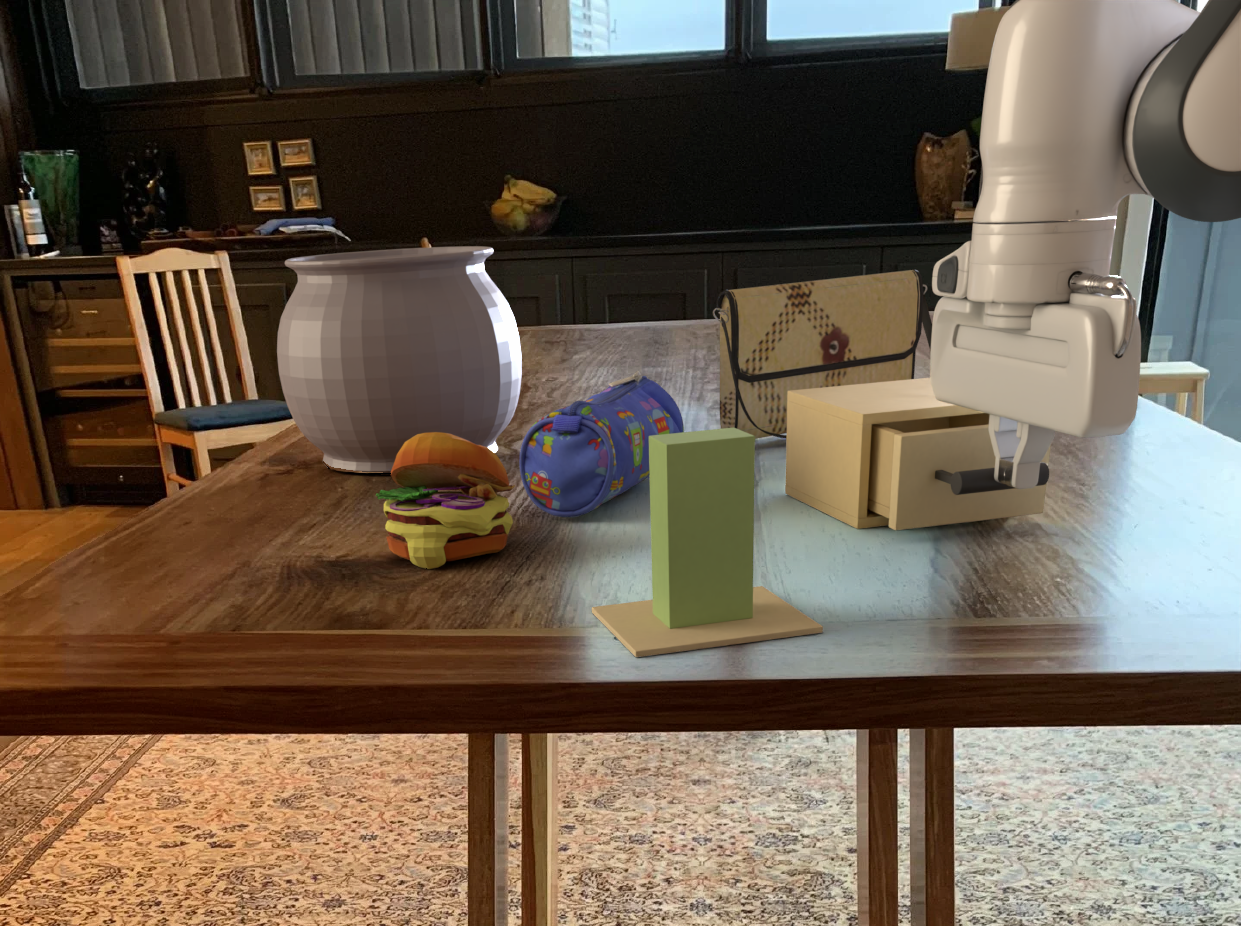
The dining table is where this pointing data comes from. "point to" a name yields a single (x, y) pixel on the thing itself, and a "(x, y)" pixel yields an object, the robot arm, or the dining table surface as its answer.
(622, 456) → the pencil case
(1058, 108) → the robot arm
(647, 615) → the tan flat wooden board
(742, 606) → the sage green upright pillar
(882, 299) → the woven shoulder bag
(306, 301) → the grey round vase
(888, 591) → the dining table surface
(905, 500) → the drawer
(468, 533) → the cheeseburger
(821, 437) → the cabinet
